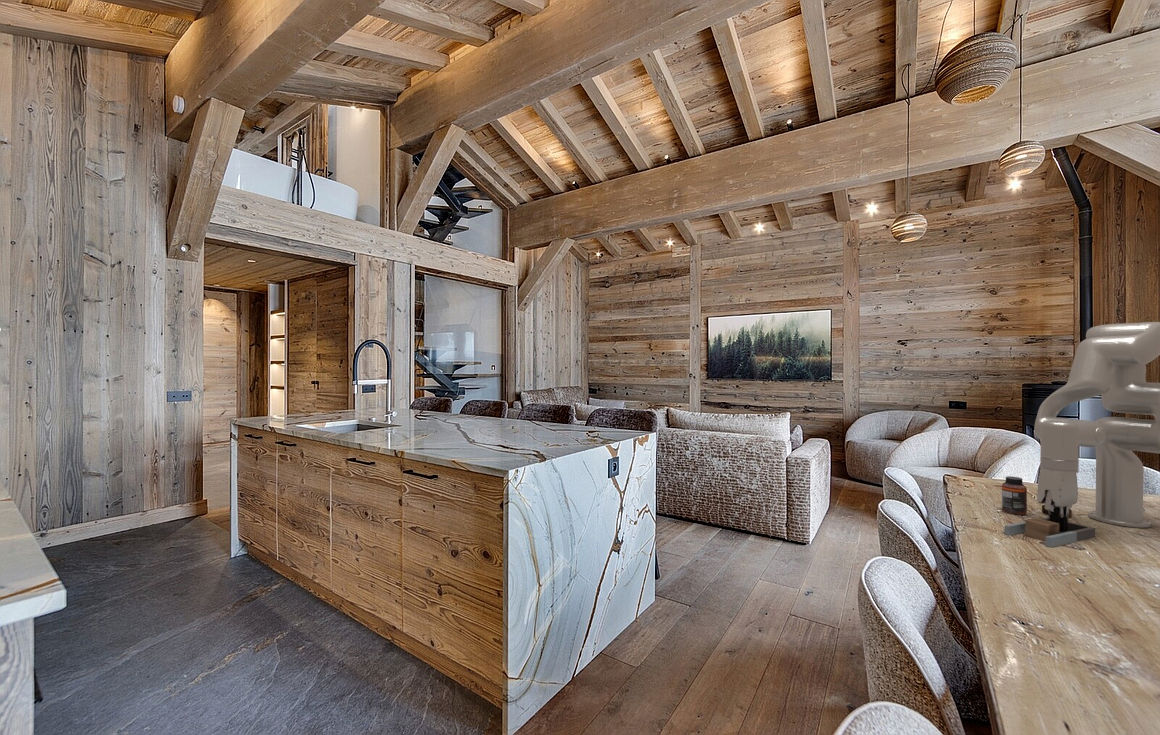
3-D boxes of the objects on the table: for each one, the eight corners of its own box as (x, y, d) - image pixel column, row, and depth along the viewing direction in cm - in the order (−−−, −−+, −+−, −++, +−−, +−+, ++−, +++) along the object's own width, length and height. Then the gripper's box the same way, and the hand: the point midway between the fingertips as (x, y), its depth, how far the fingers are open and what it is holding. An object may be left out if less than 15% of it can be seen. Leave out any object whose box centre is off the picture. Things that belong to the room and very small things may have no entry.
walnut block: (1036, 533, 132) (1036, 517, 132) (1059, 540, 127) (1059, 523, 127) (1025, 535, 130) (1025, 519, 130) (1048, 542, 126) (1048, 525, 126)
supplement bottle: (1016, 510, 153) (1016, 475, 153) (1032, 515, 147) (1032, 480, 147) (996, 509, 154) (997, 475, 154) (1011, 515, 148) (1011, 479, 148)
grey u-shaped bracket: (1048, 525, 138) (1048, 517, 138) (1095, 537, 129) (1095, 528, 129) (1004, 534, 131) (1004, 525, 131) (1050, 547, 122) (1050, 537, 122)
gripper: (1057, 460, 137) (1056, 522, 137) (1026, 464, 132) (1025, 528, 132) (1092, 465, 130) (1091, 531, 130) (1061, 469, 125) (1060, 538, 125)
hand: (1058, 529), depth 131 cm, fingers closed
